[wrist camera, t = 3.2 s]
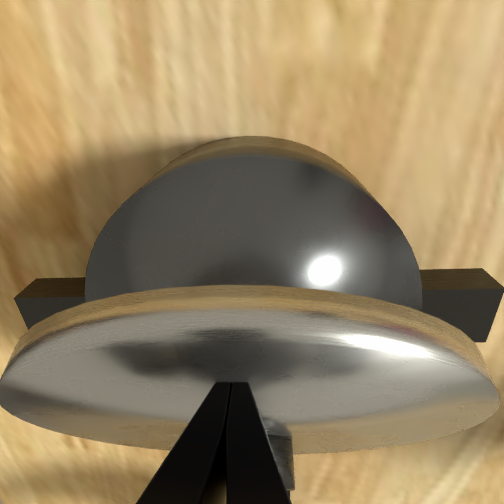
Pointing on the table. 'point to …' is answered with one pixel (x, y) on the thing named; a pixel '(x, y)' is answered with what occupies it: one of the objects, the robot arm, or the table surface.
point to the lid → (250, 369)
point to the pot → (264, 238)
